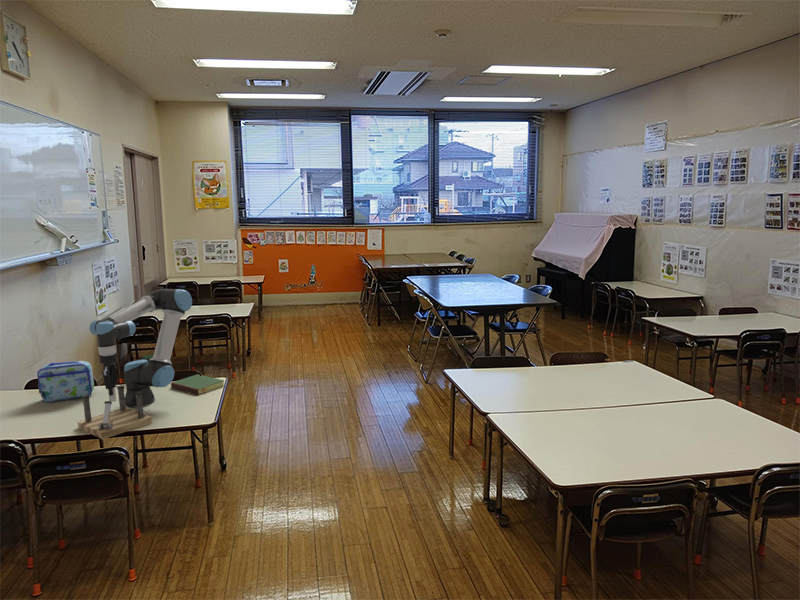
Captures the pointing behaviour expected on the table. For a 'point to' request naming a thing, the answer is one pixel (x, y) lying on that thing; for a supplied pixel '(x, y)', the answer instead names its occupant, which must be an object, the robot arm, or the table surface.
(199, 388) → the hardcover book
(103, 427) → the hinged leg
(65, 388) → the lunch box
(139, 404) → the stool top
